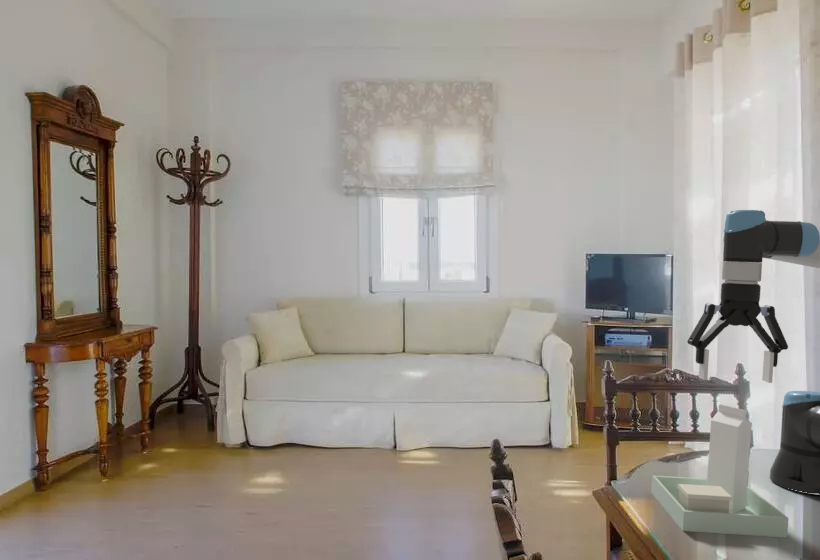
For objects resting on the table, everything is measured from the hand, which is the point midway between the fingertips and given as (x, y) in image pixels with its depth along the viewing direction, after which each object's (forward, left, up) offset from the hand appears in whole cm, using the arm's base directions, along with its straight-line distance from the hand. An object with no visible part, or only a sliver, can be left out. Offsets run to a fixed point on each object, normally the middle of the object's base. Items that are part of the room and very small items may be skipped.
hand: (735, 380), depth 139 cm
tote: (+5, +5, -28) cm, 29 cm away
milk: (+1, +1, -28) cm, 28 cm away
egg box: (+9, +10, -28) cm, 31 cm away
